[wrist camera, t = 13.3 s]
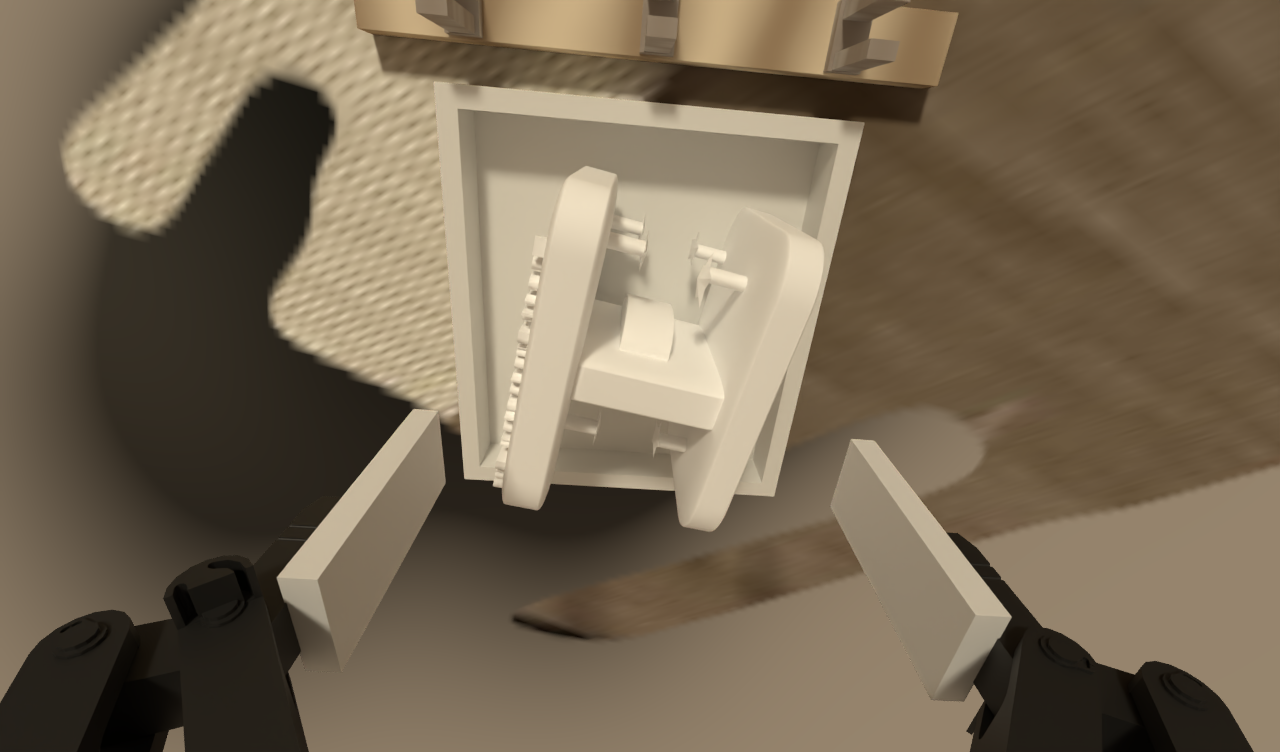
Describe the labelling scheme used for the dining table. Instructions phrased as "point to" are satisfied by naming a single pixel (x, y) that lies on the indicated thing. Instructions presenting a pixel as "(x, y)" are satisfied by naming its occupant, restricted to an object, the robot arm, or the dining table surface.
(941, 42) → the cable clip rail
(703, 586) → the dining table surface
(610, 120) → the holder tray
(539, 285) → the cable organizer
